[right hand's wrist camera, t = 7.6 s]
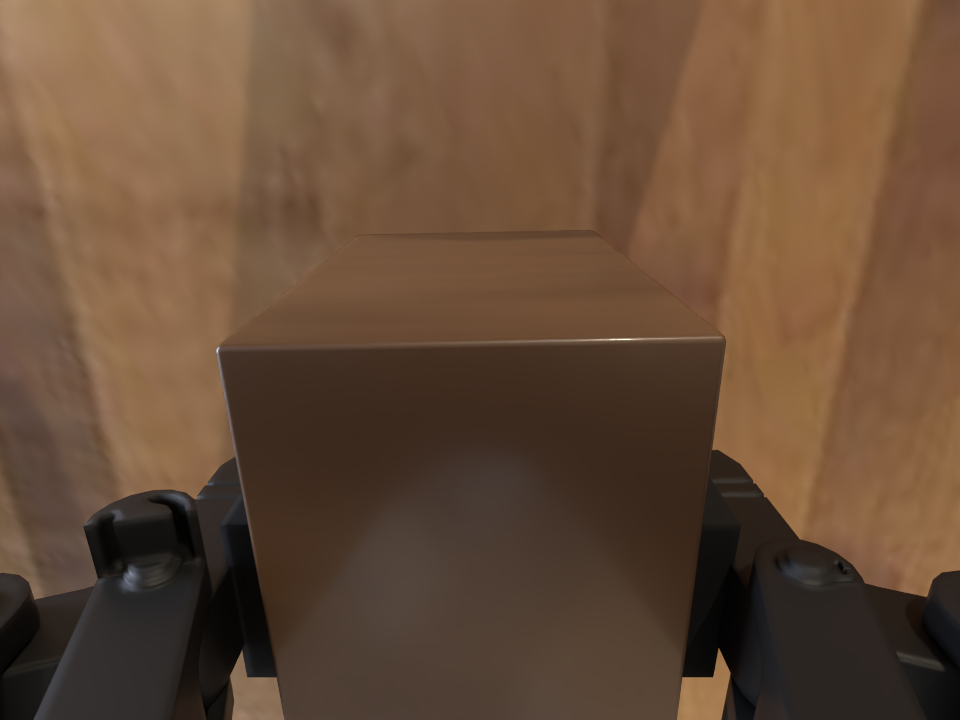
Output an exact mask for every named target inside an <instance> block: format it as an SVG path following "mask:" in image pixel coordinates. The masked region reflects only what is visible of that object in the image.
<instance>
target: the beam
mask: <svg viewBox="0 0 960 720" xmlns="http://www.w3.org/2000/svg"><path fill="white" fill-rule="evenodd" d="M725 345H726V339H725V336H724V335H723V334H721V333H720V332H719V331H718V330H716V329H715V328H714V327H713V326H711V325H710V324H709V323H708V322H706V321H705V320H704V319H703V318H701V317H700V316H699V315H698V314H696V313H695V312H694V311H693V310H691V309H690V308H689V307H688V306H687V305H685V304H684V303H683V302H682V301H680V300H679V299H678V298H677V297H675V296H674V295H673V294H672V293H670V292H669V291H668V290H667V289H665V288H664V287H663V286H662V285H660V284H659V283H658V282H657V281H655V280H654V279H653V278H652V277H650V276H649V275H648V274H647V273H645V272H644V271H643V270H642V269H640V268H639V267H638V266H637V265H635V264H634V263H633V262H632V261H630V260H629V259H628V258H627V257H625V256H624V255H623V254H622V253H620V252H619V251H618V250H617V249H615V248H614V247H613V246H612V245H610V244H609V243H608V242H607V241H605V240H604V239H603V238H602V237H600V236H599V235H598V234H597V233H595V232H594V231H592V230H565V231H518V232H470V233H423V234H376V235H359V236H357V237H356V238H354V239H353V240H352V241H351V242H349V243H348V244H347V245H346V246H344V247H343V248H342V249H340V250H339V251H338V252H337V253H335V254H334V255H333V256H332V257H330V258H329V259H328V260H326V261H325V262H324V263H323V264H321V265H320V266H319V267H317V268H316V269H315V270H314V271H312V272H311V273H310V274H309V275H307V276H306V277H305V278H303V279H302V280H301V281H300V282H298V283H297V284H296V285H294V286H293V287H292V288H291V289H289V290H288V291H287V292H286V293H284V294H283V295H282V296H280V297H279V298H278V299H277V300H275V301H274V302H273V303H272V304H270V305H269V306H268V307H266V308H265V309H264V310H263V311H261V312H260V313H259V314H257V315H256V316H255V317H254V318H252V319H251V320H250V321H249V322H247V323H246V324H245V325H243V326H242V327H241V328H240V329H238V330H237V331H236V332H235V333H233V334H232V335H231V336H229V337H228V338H227V339H226V340H224V341H223V342H222V343H220V344H219V345H218V346H217V349H216V355H217V360H218V366H219V371H220V376H221V382H222V387H223V392H224V398H225V403H226V408H227V414H228V419H229V424H230V430H231V435H232V440H233V446H234V451H235V457H236V462H237V467H238V473H239V478H240V483H241V489H242V494H243V499H244V505H245V510H246V515H247V521H248V526H249V531H250V537H251V542H252V548H253V553H254V558H255V564H256V569H257V574H258V580H259V585H260V590H261V596H262V601H263V606H264V612H265V617H266V623H267V628H268V633H269V639H270V644H271V649H272V655H273V660H274V665H275V671H276V676H277V681H278V687H279V692H280V697H281V703H282V708H283V714H284V719H285V720H677V713H678V706H679V698H680V690H681V683H682V675H683V667H684V660H685V652H686V644H687V637H688V629H689V621H690V614H691V606H692V598H693V591H694V583H695V575H696V568H697V560H698V552H699V545H700V537H701V529H702V522H703V514H704V506H705V499H706V491H707V483H708V476H709V468H710V460H711V453H712V445H713V437H714V430H715V422H716V414H717V407H718V399H719V391H720V384H721V376H722V368H723V361H724V353H725Z"/></svg>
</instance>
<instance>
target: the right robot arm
mask: <svg viewBox="0 0 960 720" xmlns="http://www.w3.org/2000/svg"><path fill="white" fill-rule="evenodd" d="M83 527H84V531H85V534H86V538H87V541H88V545H89V548H90V552H91V555H92V559H93V562H94V566H95V570H96V573H97V577H98V580H97V582H96V584H95V586H94V587H90V588H86V589H83V590H78V591H73V592H68V593H64V594H59V595H54V596H50V597H45V598H40V599H35V600H34V597H33V594H32V591H31V588H30V585H29V582H28V581H26V580H25V579H24V578H22V577H21V576H20V575H14V574H6V573H0V720H232V713H233V705H234V697H233V690H232V684H231V679H230V675H231V672H232V670H233V668H234V666H235V664H236V662H237V659H238V657H239V655H240V653H241V651H243V656H244V662H245V667H246V672H247V677H277V676H276V671H275V665H274V660H273V655H272V649H271V644H270V639H269V633H268V628H267V623H266V617H265V612H264V606H263V601H262V596H261V590H260V585H259V580H258V574H257V569H256V564H255V558H254V553H253V548H252V542H251V537H250V531H249V526H248V521H247V515H246V510H245V505H244V499H243V494H242V489H241V483H240V478H239V473H238V467H237V462H236V457H234V458H232V459H231V460H229V461H228V462H226V463H225V464H223V465H222V466H220V468H219V469H218V470H217V471H216V473H215V474H214V475H213V477H212V478H211V479H210V480H209V482H208V486H205V487H204V488H203V489H202V491H201V492H200V493H199V494H198V496H197V499H193V498H192V497H191V496H189V495H188V494H187V493H185V492H180V491H175V490H152V491H148V492H143V493H139V494H135V495H131V496H128V497H126V498H123V499H121V500H118V501H116V502H113V503H111V504H109V505H108V506H106V507H105V508H103V509H101V510H100V511H98V512H97V513H95V514H94V515H93V516H92V517H91V518H90V519H89V520H88V522H87V523H86V524H85V525H84V526H83ZM718 648H719V649H720V651H721V653H722V655H723V657H724V660H725V662H726V664H727V666H728V668H729V670H730V672H731V674H730V679H729V684H728V689H727V694H726V699H725V704H724V709H723V714H722V719H721V720H960V571H951V572H943V573H941V574H940V575H938V576H937V577H936V578H935V579H933V581H932V584H931V587H930V590H929V593H928V596H927V597H923V596H919V595H914V594H909V593H904V592H900V591H895V590H890V589H885V588H881V587H877V586H873V585H869V584H866V583H864V581H863V579H862V577H861V576H860V574H859V573H858V572H857V570H856V569H855V568H854V566H853V565H852V564H851V563H849V562H848V561H847V560H845V559H844V558H843V557H841V556H840V555H839V554H837V553H835V552H833V551H831V550H829V549H827V548H825V547H823V546H820V545H818V544H815V543H812V542H808V541H804V540H800V539H799V538H798V536H797V535H796V534H795V533H794V531H793V530H792V529H791V528H790V526H789V525H788V524H787V523H786V521H785V520H784V519H783V518H782V516H781V515H780V514H779V512H778V511H777V510H776V509H775V507H774V506H773V505H772V504H771V502H770V501H769V500H768V499H767V497H764V494H763V492H762V491H761V490H760V489H759V487H758V486H757V485H756V484H753V480H752V478H751V477H750V476H749V475H748V473H747V472H746V471H745V470H744V468H743V467H742V466H741V465H740V464H739V463H738V462H736V461H734V460H733V459H731V458H730V457H728V456H727V455H725V454H724V453H722V452H720V451H719V450H712V453H711V460H710V468H709V476H708V483H707V491H706V499H705V506H704V514H703V522H702V529H701V537H700V545H699V552H698V560H697V568H696V575H695V583H694V591H693V598H692V606H691V614H690V621H689V629H688V637H687V644H686V652H685V660H684V667H683V675H682V677H713V675H714V670H715V664H716V659H717V653H718Z"/></svg>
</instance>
